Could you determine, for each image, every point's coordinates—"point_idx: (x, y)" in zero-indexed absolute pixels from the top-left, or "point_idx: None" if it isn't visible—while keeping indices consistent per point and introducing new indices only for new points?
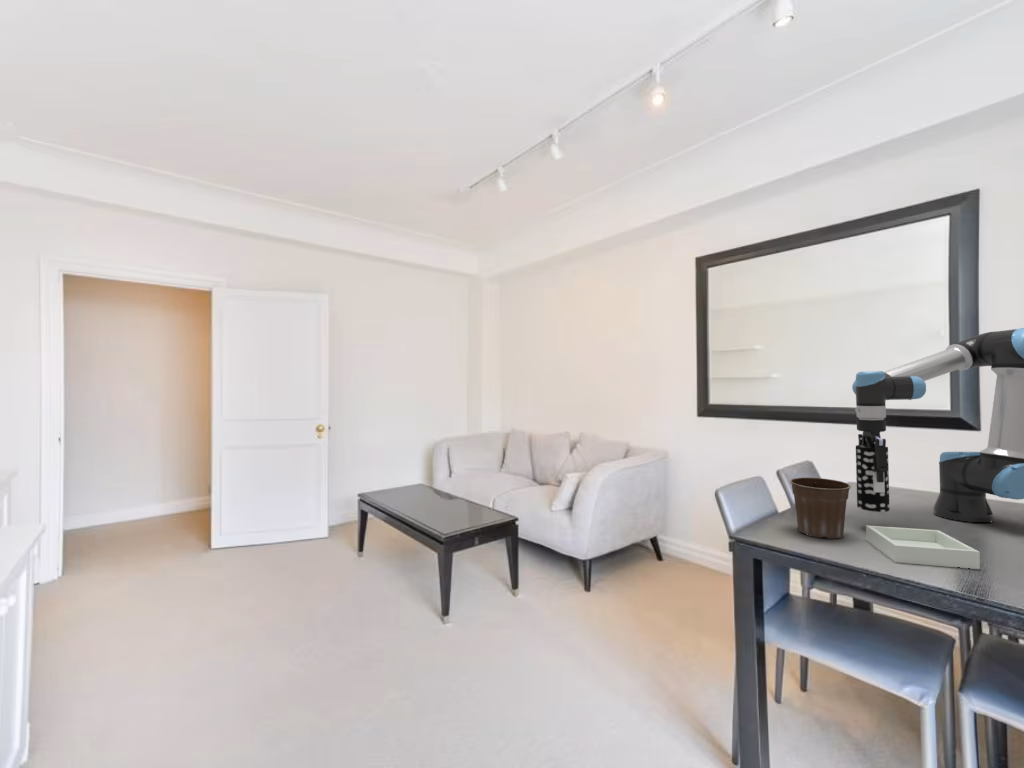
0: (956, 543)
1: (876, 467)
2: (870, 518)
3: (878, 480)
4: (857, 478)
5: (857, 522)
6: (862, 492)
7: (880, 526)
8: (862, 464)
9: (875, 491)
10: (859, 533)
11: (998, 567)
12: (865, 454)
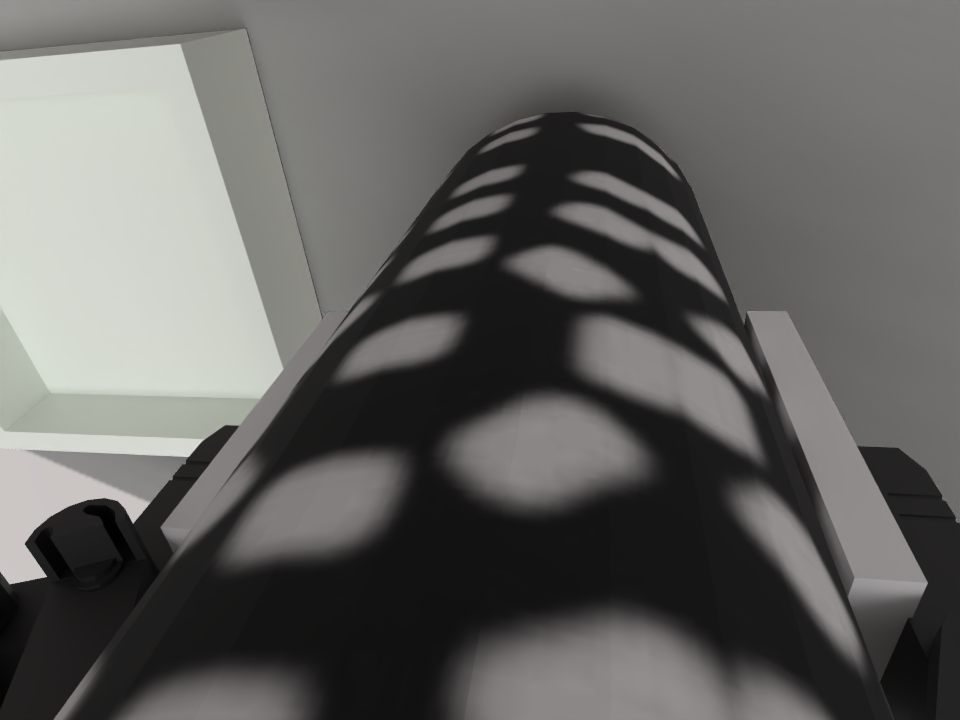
0: (108, 430)
1: (46, 629)
2: (933, 282)
3: (199, 444)
4: (510, 245)
5: (787, 131)
6: (440, 199)
7: (212, 159)
8: (216, 526)
9: (324, 325)
10: (424, 35)
11: (137, 467)
12: None
